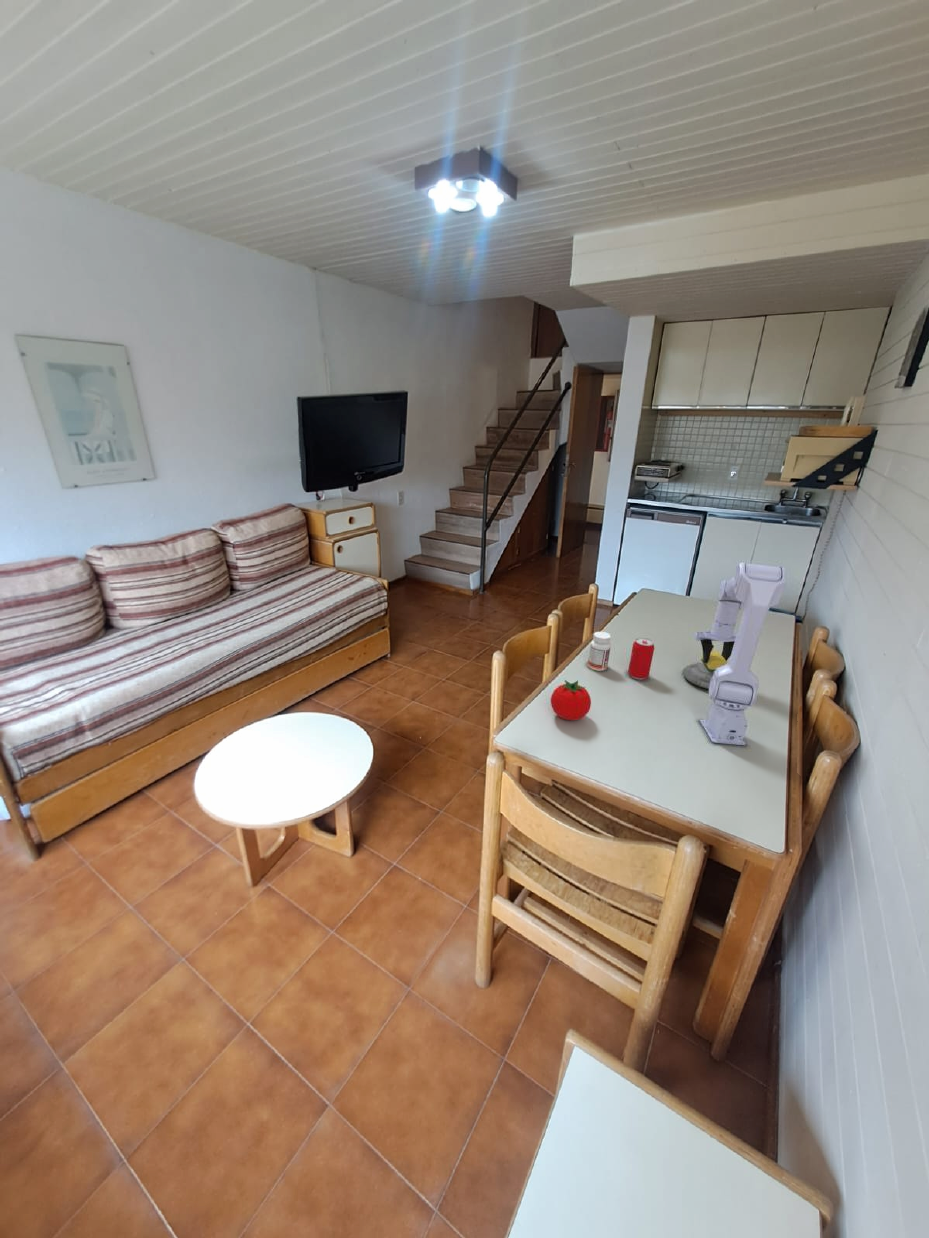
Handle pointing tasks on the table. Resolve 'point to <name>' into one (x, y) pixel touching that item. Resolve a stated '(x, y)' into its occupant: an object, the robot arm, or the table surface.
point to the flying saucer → (698, 674)
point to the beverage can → (641, 658)
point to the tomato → (571, 701)
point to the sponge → (714, 661)
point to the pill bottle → (599, 651)
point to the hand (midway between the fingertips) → (713, 662)
